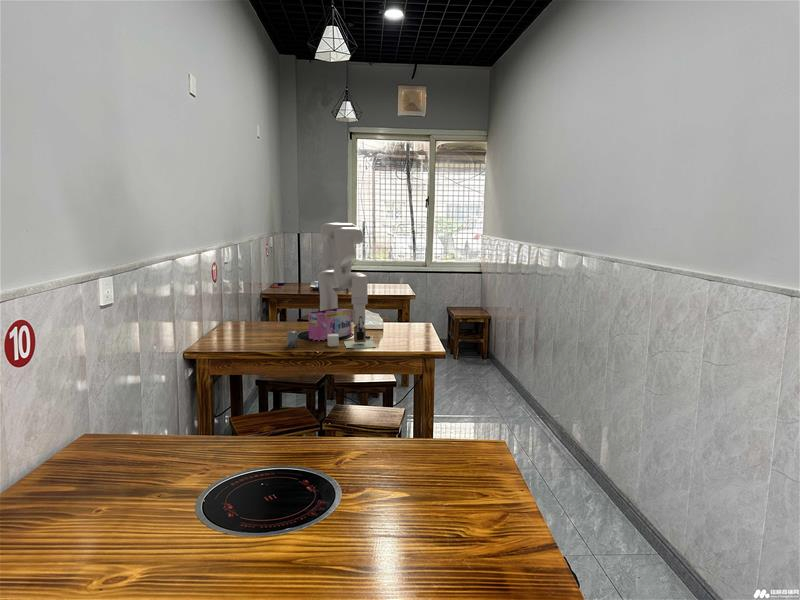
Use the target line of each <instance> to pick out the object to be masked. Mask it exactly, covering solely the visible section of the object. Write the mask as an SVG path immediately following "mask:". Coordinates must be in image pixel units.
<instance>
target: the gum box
mask: <svg viewBox="0 0 800 600" xmlns="http://www.w3.org/2000/svg"><path fill="white" fill-rule="evenodd" d="M351 310H352V309H351V308H347V309H346V308H345V307H338V308H334V309H329V310H323V311H320V310H318V311H317V310H316V311H312V312H308V340H310V339H313V340H312V341H315V340H318V341H317V342H321V341H320V340H322V341H326V340H325V339H327V334H338V335H339V338H341V337H346V336H349V335H350V334H351V335H352V311H351Z"/></svg>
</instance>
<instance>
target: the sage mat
mask: <svg viewBox="0 0 800 600" xmlns="http://www.w3.org/2000/svg"><path fill="white" fill-rule="evenodd" d="M343 344H344V347H345V346H346V347H345V349H346V348H360V349H376V348H377V346H376V344H375V342H374V341H373V340H366V342H360V343H355V342H354V340H352V341H351V340H350V341H349V340H345V341H343ZM373 347H375V348H373Z"/></svg>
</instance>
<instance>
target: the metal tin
mask: <svg viewBox="0 0 800 600" xmlns="http://www.w3.org/2000/svg"><path fill="white" fill-rule="evenodd" d="M298 333H299V331H297V330H287V331H286V347H287V346H288V347H287V348H289V347H295V346H298V347H299V339H298V338H299V335H298ZM295 348H296V347H295Z"/></svg>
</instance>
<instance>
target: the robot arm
mask: <svg viewBox="0 0 800 600" xmlns="http://www.w3.org/2000/svg"><path fill="white" fill-rule="evenodd" d="M320 236H321V239H322V255H321V256H322V258H321V265H322V267H323V268H324V269H326V270H323V271H320V272H319V273H318V275H317V281H318V287H319V311H323V310H329V309H334V308H339V306H338V303H339V302H338V300H339V299H338V298H339V297H338V294H337V293H336V291H335V290H334V289H336V288H339V289H341V290H346V289H348V290H349V289H351V305H353V307H352V308H353V309H352V313H353V314H352V322H353V325H354V326H357V331H358V332H357V340H364V331H363V326H365V325H366V305H368V303H369V301H368V297H369V295H368V292H369V291H368V287H369V286H368V283H369V282H368V276H367V274H364V273H362V272H352V261H353V259H355V258H356V256H357V252H356V248H355V245H360V244H362V243H363V240H364V234H363V231H362V229H361V228H360V227H359V226H358V225H356V224H354V223H351V222H326V223H323V224H322V225H321V227H320ZM359 326H360V327H359Z"/></svg>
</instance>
